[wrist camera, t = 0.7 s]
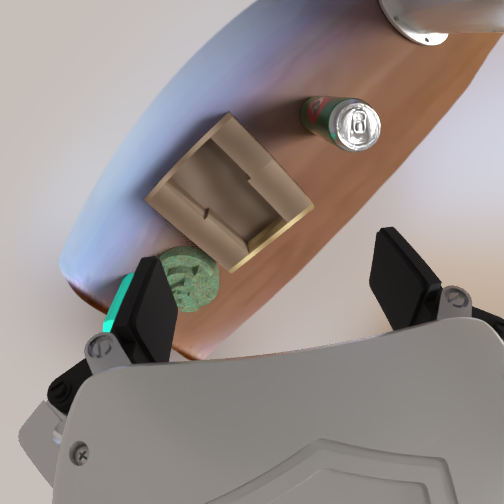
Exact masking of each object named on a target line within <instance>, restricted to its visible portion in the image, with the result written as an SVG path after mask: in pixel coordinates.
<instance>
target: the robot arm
mask: <svg viewBox="0 0 504 504" xmlns="http://www.w3.org/2000/svg"><path fill="white" fill-rule="evenodd" d="M379 3H380V6H381V8H382V10H383V12H384V14H385V16H386V17H387V18H388V20H389V21H390V23H391V24H392V25H393V26H394V27H395V28H396V29H397V30H398V31H399V32H400V33H401V34H402V35H404V36H405V37H407V38H408V39H409V40H411V41H413V42H415V43H418V44H421V45H426V46H432V45H438V44H440V43H442V42H443V41H444V40H445V39H446V38H447V36H448V34H452V33H467V32H504V0H379ZM441 283H442V282H441V281H440V280H439V278H438V277H437V276H436V275H435V273H434V272H433V271H432V270H431V268H430V267H429V266H428V265H427V264H426V263H425V261H424V260H423V259H422V258H421V257H420V256H419V254H418V253H417V252H416V251H415V250H414V249H413V248H412V246H411V245H410V244H409V243H408V242H407V241H406V240H405V239H404V238H403V236H402V235H401V234H400V233H399V232H398V231H397V230H396V229H395V228H394V227H386V228H381V229H380V231H379V232H377V234H376V241H375V248H374V255H373V261H372V267H371V273H370V279H369V284H370V287H371V290H372V291H373V293H374V295H375V297H376V299H377V300H378V302H379V304H380V306H381V308H382V310H383V312H384V313H385V315H386V317H387V319H388V321H389V323H390V325H391V327H392V329H393V331H391V332H387V333H383V334H379V335H375V336H370V337H365V338H361V339H356V340H351V341H346V342H341V343H336V344H330V345H325V346H319V347H314V348H307V349H301V350H294V351H287V352H281V353H273V354H265V355H256V356H247V357H237V358H226V359H213V360H198V361H182V362H169V357H170V351H171V346H172V341H173V335H174V330H175V325H176V320H177V315H178V307H177V304H176V301H175V298H174V296H173V293H172V290H171V288H170V285H169V282H168V280H167V277H166V274H165V271H164V268H163V265H162V263H161V260H160V259H157V258H156V257H155V256H152V257H144V258H142V259H141V260H140V263H139V265H138V267H137V269H136V271H135V273H134V276H133V278H132V280H131V282H130V285H129V287H128V289H127V291H126V293H125V295H124V298H123V300H122V303H121V305H120V307H119V310H118V312H117V315H116V317H115V320H114V322H113V325H112V327H111V330H110V332H102V333H98V334H96V335H94V336H93V337H92V338H90V340H89V341H88V342H87V344H86V346H85V349H84V353H85V357H86V358H85V359H83V360H82V361H80V362H79V363H78V364H76V365H75V366H73V367H72V368H71V369H69V370H68V371H66V372H65V373H64V374H62V375H61V376H59V377H58V378H56V379H55V380H54V381H53V382H52V383H51V385H50V386H49V389H48V393H47V397H48V401H47V402H45V401H42V402H41V404H40V405H39V406H38V407H37V409H36V410H35V411H34V412H33V413H32V415H31V416H30V417H29V418H28V420H27V421H26V422H25V423H24V425H23V426H22V427H21V429H20V431H19V442H20V445H21V446H22V447H23V449H24V451H25V452H26V454H27V455H28V456H29V458H30V459H31V460H32V462H33V463H34V465H35V466H36V467H37V469H38V470H39V471H40V473H41V474H42V475H43V477H44V478H45V479H46V480H47V481H48V483H49V484H50V485H51V486H52V487H53V502H52V504H504V319H502V318H500V317H498V316H495V315H493V314H490V313H488V312H485V311H483V310H480V309H478V308H475V307H473V306H472V300H471V297H470V295H469V294H468V293H467V292H466V291H465V290H464V289H462V288H460V287H457V286H447V287H445V288H444V289H443V288H442V287H441Z"/></svg>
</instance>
